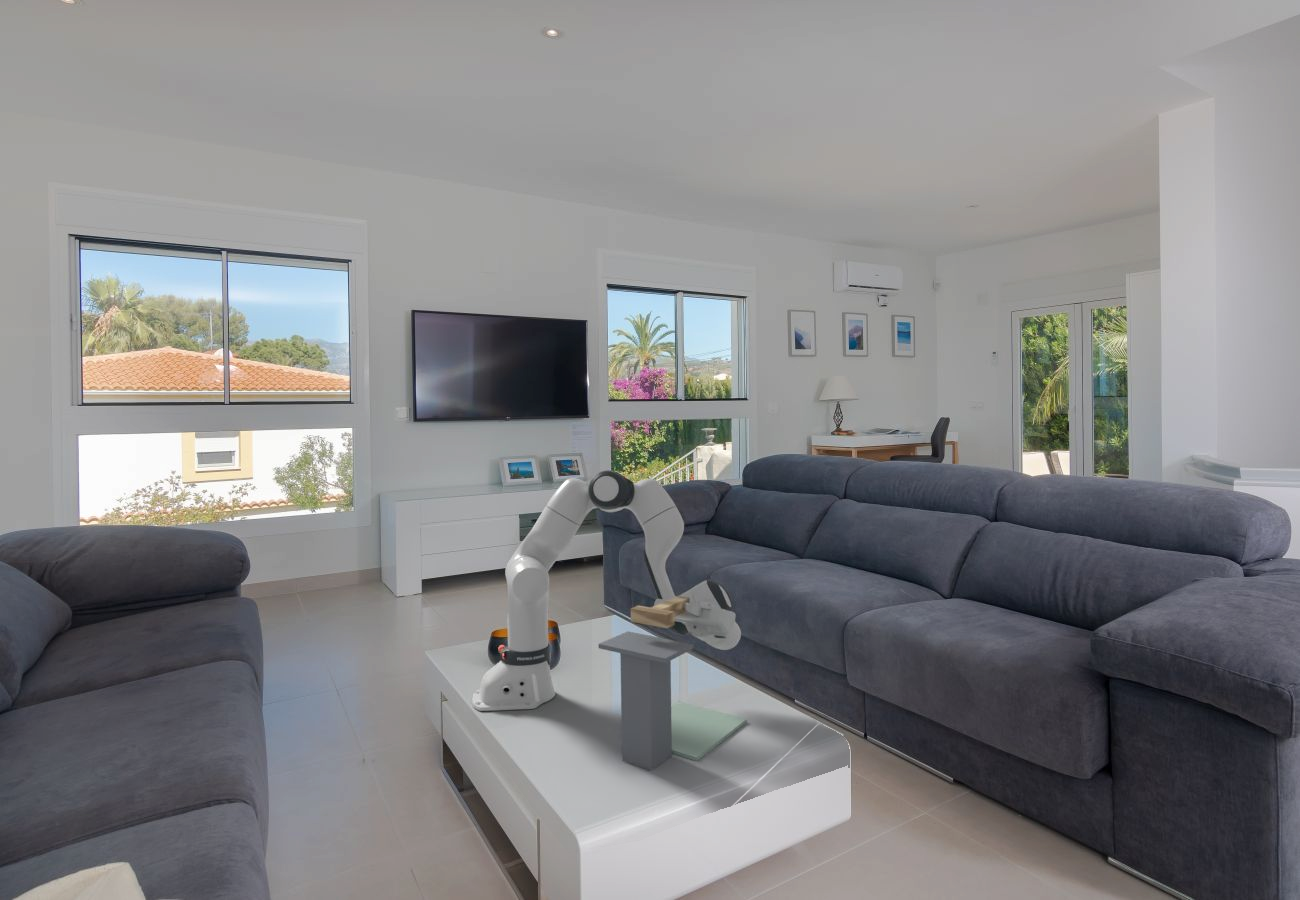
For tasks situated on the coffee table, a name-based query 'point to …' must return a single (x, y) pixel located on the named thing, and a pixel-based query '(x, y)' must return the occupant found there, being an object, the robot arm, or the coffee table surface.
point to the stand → (646, 695)
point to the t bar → (659, 613)
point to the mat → (699, 729)
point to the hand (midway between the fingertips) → (677, 604)
